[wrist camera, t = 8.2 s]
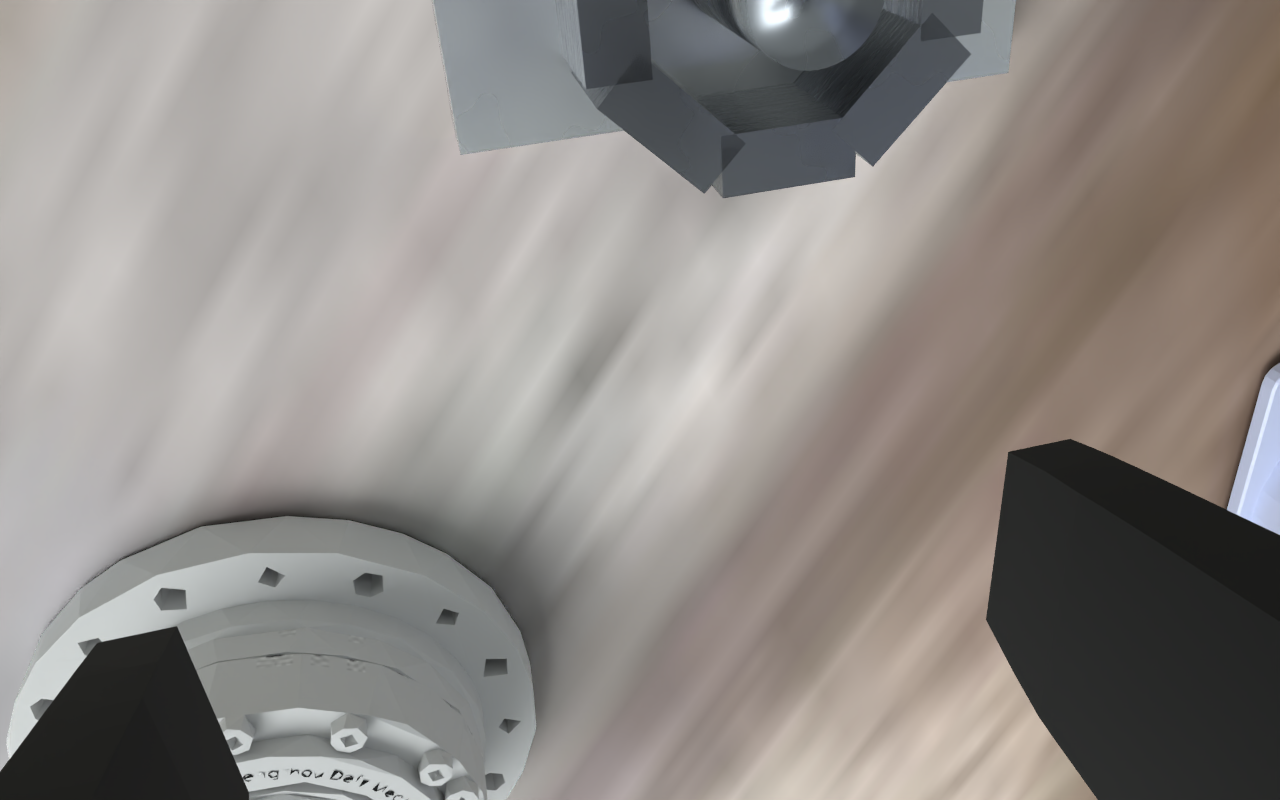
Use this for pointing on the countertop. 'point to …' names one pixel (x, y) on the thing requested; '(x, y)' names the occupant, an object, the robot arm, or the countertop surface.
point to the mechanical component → (320, 658)
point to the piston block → (714, 77)
